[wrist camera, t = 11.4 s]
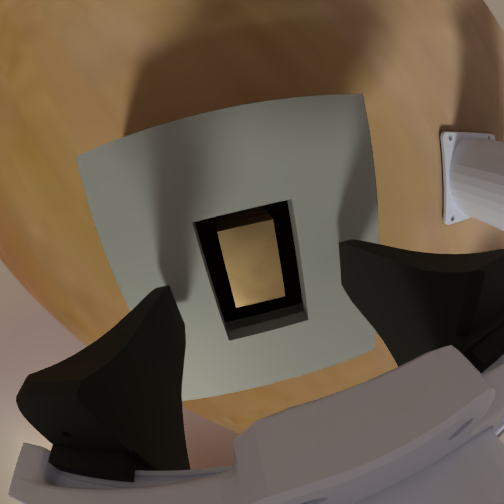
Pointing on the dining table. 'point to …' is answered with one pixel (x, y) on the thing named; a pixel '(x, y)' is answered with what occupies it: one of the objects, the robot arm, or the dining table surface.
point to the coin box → (232, 200)
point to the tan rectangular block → (251, 255)
